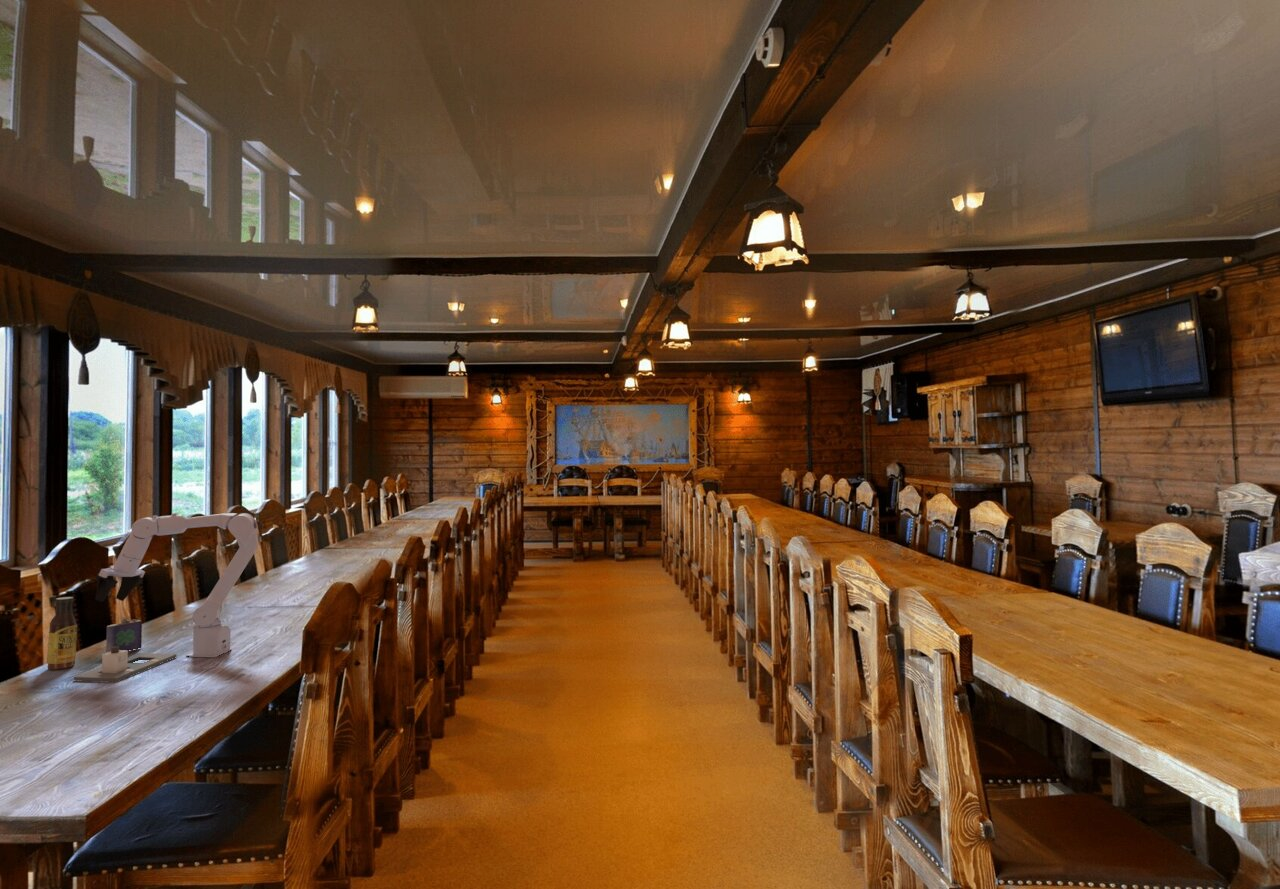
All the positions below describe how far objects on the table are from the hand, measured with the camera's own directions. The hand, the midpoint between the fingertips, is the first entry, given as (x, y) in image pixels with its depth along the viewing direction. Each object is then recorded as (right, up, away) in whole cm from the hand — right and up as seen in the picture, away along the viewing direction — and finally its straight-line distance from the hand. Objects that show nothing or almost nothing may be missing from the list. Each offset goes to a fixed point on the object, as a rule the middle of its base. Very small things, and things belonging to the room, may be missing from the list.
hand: (109, 600), depth 202 cm
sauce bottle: (-10, -19, -4) cm, 22 cm away
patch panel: (+10, -18, -6) cm, 22 cm away
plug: (+9, -18, -10) cm, 23 cm away
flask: (-4, -19, +11) cm, 22 cm away
